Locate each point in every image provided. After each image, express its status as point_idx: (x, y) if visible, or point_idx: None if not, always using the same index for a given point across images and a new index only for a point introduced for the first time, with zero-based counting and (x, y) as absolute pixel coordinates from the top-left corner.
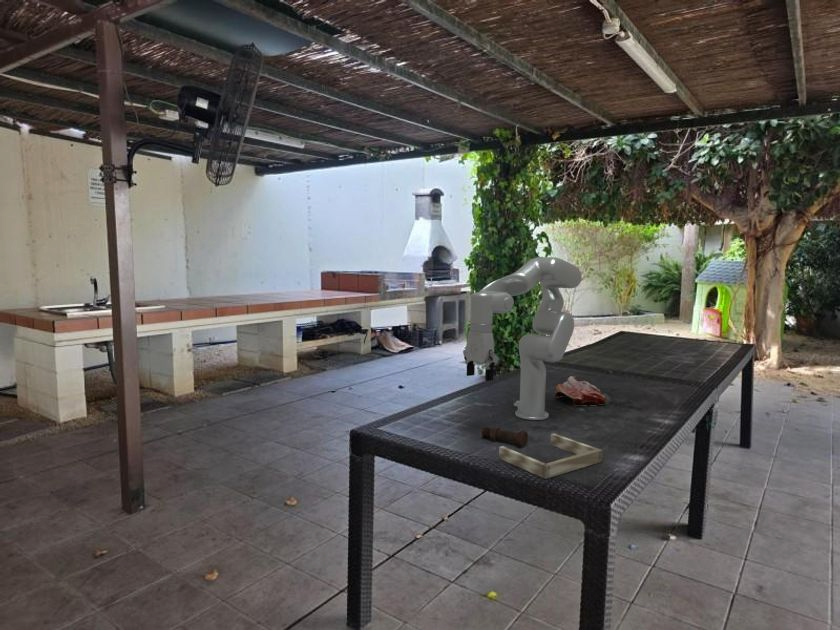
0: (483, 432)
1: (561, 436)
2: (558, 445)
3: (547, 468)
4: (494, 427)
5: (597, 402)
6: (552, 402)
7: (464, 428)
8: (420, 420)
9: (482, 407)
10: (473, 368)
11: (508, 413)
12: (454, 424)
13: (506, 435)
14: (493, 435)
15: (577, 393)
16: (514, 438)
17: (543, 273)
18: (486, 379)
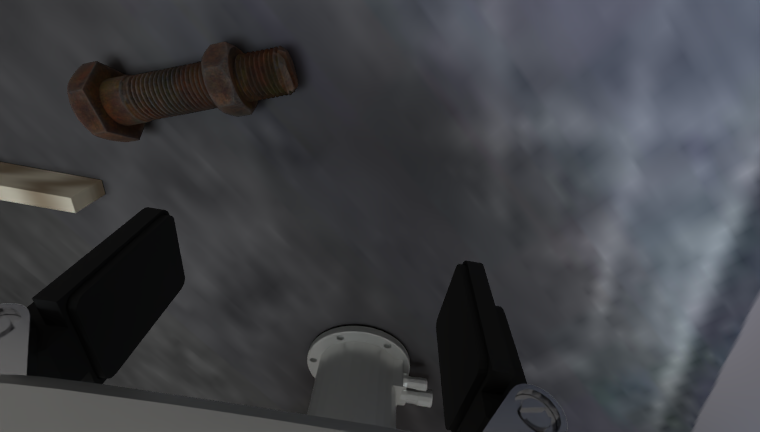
0: (273, 50)
1: (34, 202)
2: (58, 176)
3: None
4: (222, 84)
5: None
6: None
7: (438, 103)
8: (704, 35)
9: (537, 342)
10: (445, 374)
11: (427, 341)
12: (509, 116)
13: (159, 75)
14: (209, 46)
15: None
16: (120, 76)
17: None
18: (140, 215)
